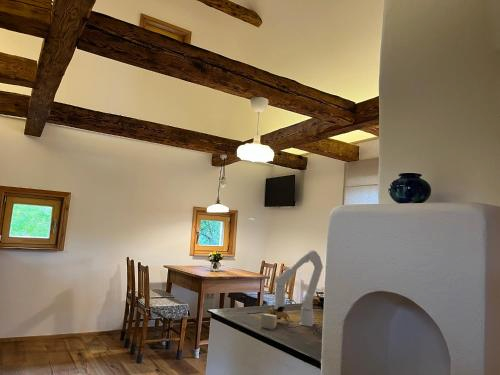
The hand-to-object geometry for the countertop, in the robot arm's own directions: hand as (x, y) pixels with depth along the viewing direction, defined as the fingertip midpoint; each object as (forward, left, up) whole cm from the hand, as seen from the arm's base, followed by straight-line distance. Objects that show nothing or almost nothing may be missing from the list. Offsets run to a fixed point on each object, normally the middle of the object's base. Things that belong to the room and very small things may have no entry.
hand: (278, 319), depth 228 cm
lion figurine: (+3, +2, -1) cm, 4 cm away
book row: (+13, -2, -2) cm, 14 cm away
